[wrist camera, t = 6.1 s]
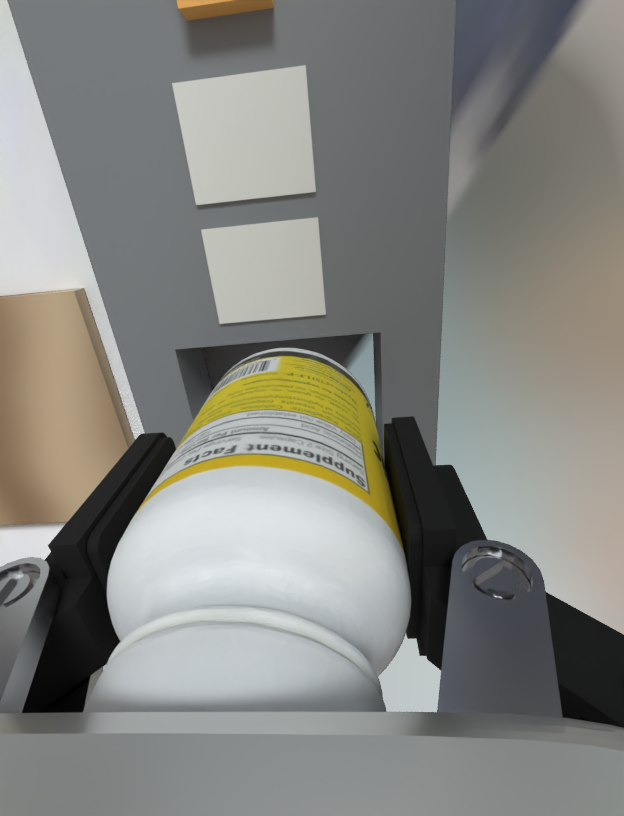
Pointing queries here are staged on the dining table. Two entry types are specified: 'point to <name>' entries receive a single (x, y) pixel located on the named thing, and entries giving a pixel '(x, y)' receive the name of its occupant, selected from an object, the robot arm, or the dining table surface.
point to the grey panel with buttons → (255, 180)
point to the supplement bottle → (262, 555)
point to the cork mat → (54, 407)
